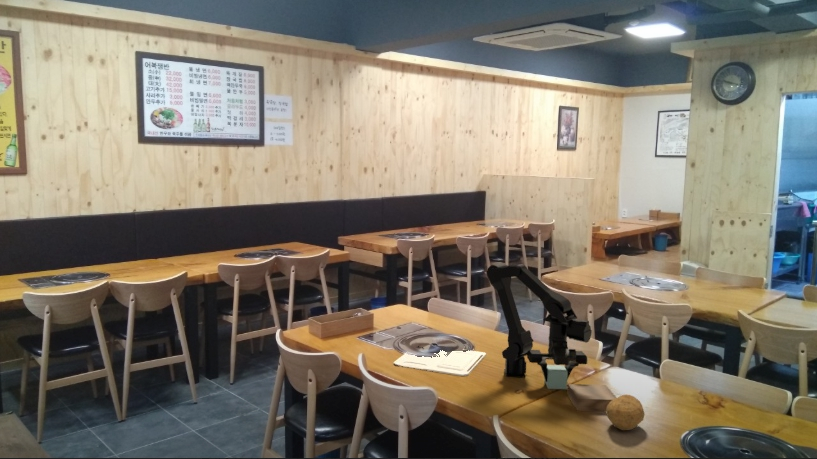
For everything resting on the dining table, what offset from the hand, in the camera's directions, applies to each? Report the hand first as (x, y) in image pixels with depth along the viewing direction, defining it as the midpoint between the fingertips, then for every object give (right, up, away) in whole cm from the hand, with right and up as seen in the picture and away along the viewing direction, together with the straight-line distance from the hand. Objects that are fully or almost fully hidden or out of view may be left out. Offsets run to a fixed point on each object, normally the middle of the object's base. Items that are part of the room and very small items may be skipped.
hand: (555, 381), depth 197 cm
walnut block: (+8, -3, -14) cm, 16 cm away
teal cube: (0, -1, 0) cm, 1 cm away
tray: (-37, +1, +25) cm, 44 cm away
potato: (+11, -5, -31) cm, 33 cm away
